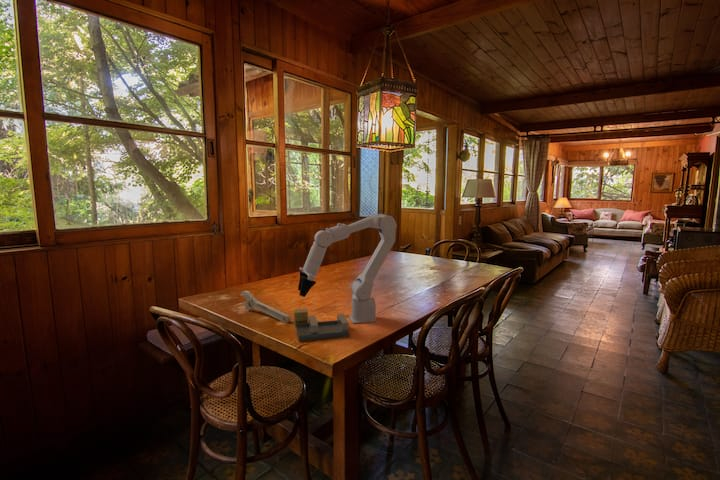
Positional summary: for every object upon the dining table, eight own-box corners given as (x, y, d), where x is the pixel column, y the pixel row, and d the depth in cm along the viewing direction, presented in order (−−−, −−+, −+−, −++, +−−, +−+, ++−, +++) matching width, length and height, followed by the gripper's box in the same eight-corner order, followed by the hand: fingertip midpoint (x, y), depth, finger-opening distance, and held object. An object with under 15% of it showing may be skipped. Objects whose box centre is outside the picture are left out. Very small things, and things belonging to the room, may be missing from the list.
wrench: (286, 330, 146) (239, 306, 163) (290, 329, 148) (243, 305, 164) (288, 311, 144) (240, 289, 161) (291, 310, 146) (243, 288, 163)
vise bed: (343, 324, 144) (342, 312, 144) (349, 337, 133) (349, 323, 132) (296, 328, 140) (296, 315, 139) (298, 341, 129) (298, 328, 128)
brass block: (307, 323, 146) (306, 308, 145) (308, 326, 142) (307, 311, 141) (294, 324, 145) (293, 309, 144) (294, 327, 141) (294, 312, 140)
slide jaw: (315, 324, 140) (315, 315, 140) (318, 334, 131) (318, 325, 131) (308, 325, 140) (308, 316, 139) (311, 335, 131) (311, 325, 130)
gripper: (302, 253, 147) (290, 285, 148) (306, 260, 133) (292, 295, 134) (319, 259, 149) (306, 290, 150) (324, 267, 135) (310, 301, 136)
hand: (301, 293), depth 142 cm, fingers open, 7 cm apart
